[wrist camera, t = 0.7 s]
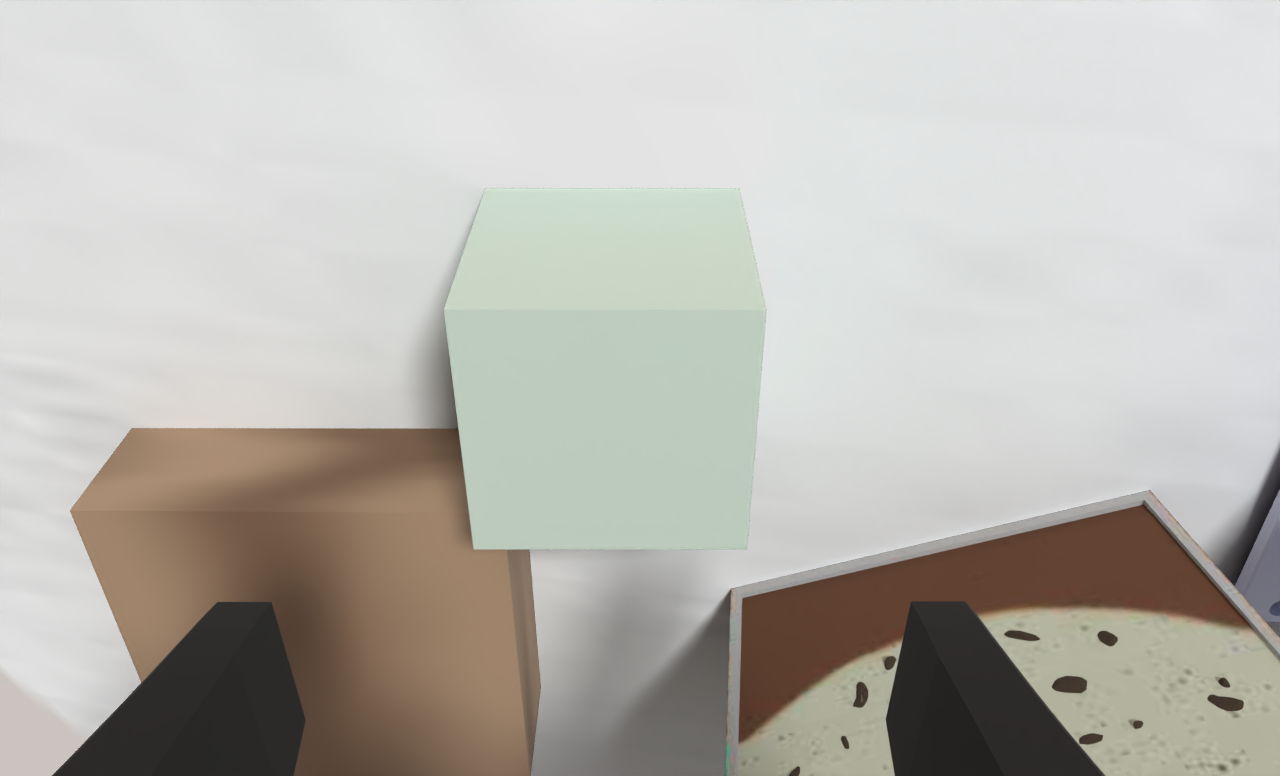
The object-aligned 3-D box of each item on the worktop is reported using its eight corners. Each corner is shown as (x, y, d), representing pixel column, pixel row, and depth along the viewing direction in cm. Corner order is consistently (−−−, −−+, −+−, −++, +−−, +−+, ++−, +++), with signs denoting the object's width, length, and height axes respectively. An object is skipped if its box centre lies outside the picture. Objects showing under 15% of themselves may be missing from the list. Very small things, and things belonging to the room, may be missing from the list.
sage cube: (739, 186, 17) (766, 309, 14) (726, 396, 20) (746, 549, 16) (485, 186, 17) (443, 309, 14) (505, 396, 20) (473, 549, 16)
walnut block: (521, 419, 21) (502, 513, 18) (542, 675, 25) (530, 780, 22) (140, 417, 21) (70, 510, 18) (228, 674, 25) (181, 777, 23)
